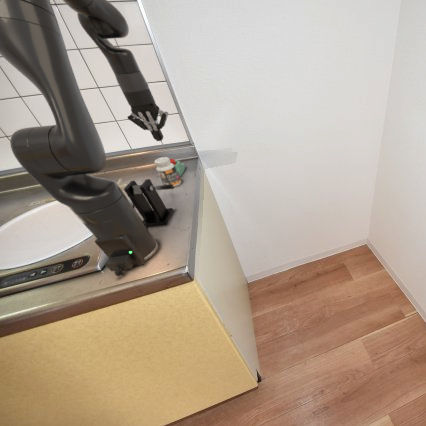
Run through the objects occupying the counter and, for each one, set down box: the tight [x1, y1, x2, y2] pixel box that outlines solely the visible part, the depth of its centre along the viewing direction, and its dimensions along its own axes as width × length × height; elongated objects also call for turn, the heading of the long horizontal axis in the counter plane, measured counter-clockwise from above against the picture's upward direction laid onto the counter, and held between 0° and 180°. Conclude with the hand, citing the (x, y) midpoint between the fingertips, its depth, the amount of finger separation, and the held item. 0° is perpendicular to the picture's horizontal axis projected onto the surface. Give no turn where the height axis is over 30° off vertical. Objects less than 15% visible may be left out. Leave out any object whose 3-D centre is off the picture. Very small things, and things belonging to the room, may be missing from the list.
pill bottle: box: [154, 156, 182, 188], centre depth 86 cm, size 6×6×10 cm
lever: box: [132, 184, 175, 195], centre depth 73 cm, size 15×5×2 cm, turn 8°
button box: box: [174, 159, 186, 177], centre depth 95 cm, size 7×6×4 cm
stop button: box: [169, 158, 176, 165], centre depth 93 cm, size 3×3×2 cm
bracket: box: [123, 178, 175, 228], centre depth 69 cm, size 7×7×13 cm
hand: (160, 140), depth 87 cm, fingers closed
